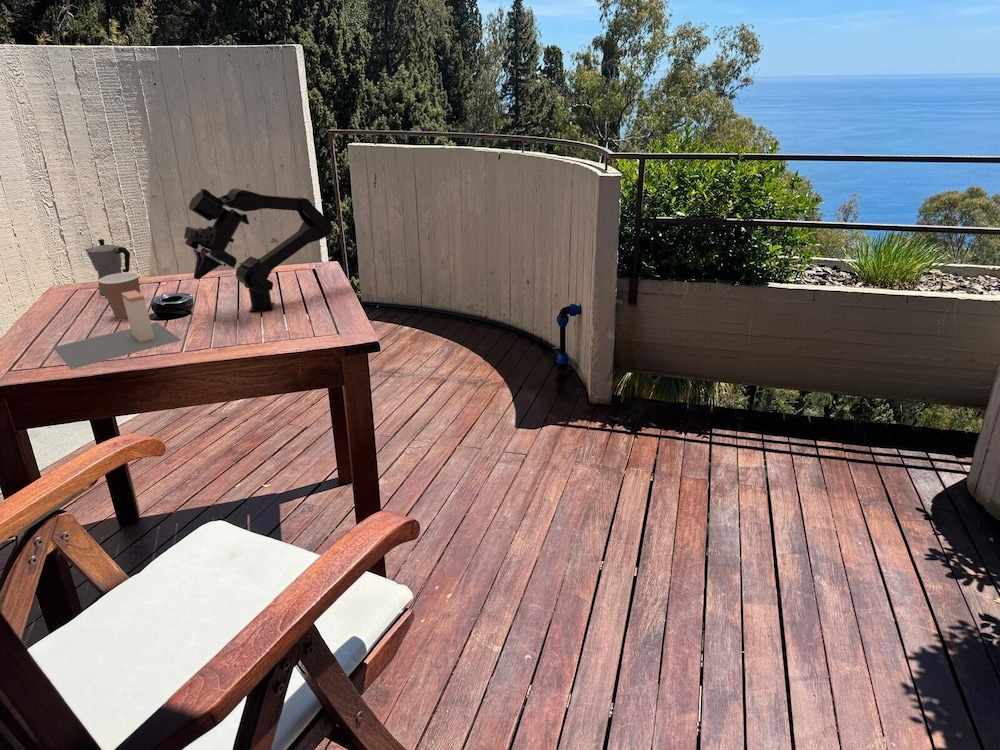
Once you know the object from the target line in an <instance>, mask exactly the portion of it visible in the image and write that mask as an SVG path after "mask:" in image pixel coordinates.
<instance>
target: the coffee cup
mask: <svg viewBox="0 0 1000 750" xmlns="http://www.w3.org/2000/svg"><path fill="white" fill-rule="evenodd" d="M139 276H140V275H139V273H136V272H122V273H118V274H112V275H108V276H105V277H103V278H101V279H99V281H98V283H99V282H100V283H101V285H102V287H103V290H104V292H105V294H106V297H107V298H106V299H107V302H108V304H109V307H110V308H111V311H112V313H113V315H114V317H115V318H116V320H117V319H118V321H123V320H128V316H127V312H126V309H125V305H124V301H123V298H122V294H121V293H124V292H129V291H134V290H136V291H137V292H139V293H140V294H141V287H140V281H139V280H140V279H139Z"/></svg>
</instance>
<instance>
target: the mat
mask: <svg viewBox="0 0 1000 750" xmlns="http://www.w3.org/2000/svg"><path fill="white" fill-rule="evenodd" d="M151 326H152V330H153V334H154V338H155V339H151V340H148V341H144V342H140V341H139V340H138V339H136V338H135V337H134V336H133V334H132V330H131V328H127V329H123V330H120V331H115V332H114V331H113V332H110V333H106V334H102V335H98V336H93V337H90V338H86V339H82V340H77V341H74V342H69V343H65V344H61V345H56V346H52V348H53V350H54V351H55V352H56V353H57V354H58V356H60V358H61V359H62V360H63V361H64V363H65V364H66V365H67V367H69V369H70V370H73V369H77V368H81V367H84V366H88V365H93V364H96V363H100V362H104V361H108V360H111V359H114V358H119V357H122V356H126V355H132V354H135V353H139V352H142V351H145V350H150V349H154V348H157V347H160V346H165V345H169V344H173V343H177V342H180V341H182V339H181V338H179V337H178V336H177V335H176V334H174V333H173V332H171V331H170V330H168V329H167V328H165V326H163V325H162V324H160V323H159V322H158V321H156V322H151Z"/></svg>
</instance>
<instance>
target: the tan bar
mask: <svg viewBox="0 0 1000 750" xmlns="http://www.w3.org/2000/svg"><path fill="white" fill-rule="evenodd" d="M121 294H122V298H123V301H124V305H125V309H126V312H127V316H128V319H127V320H128V323H129V326H130V329H131V330H132V334H133V336H134V337H135V338H136V339H138V340H139V341H140V342H144V341H148V340H151V339H155V338H154V334H153V330H152V326H151V324H152V322H151V320H150V319H151V318H150V315H149V312H148V308H147V305H146V304H147V303H146V301H145V296H144V295H143V293H141V292H140V293H139V292H137V291H136V290H134V291H129V292H124V293H121Z"/></svg>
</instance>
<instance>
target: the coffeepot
mask: <svg viewBox="0 0 1000 750" xmlns="http://www.w3.org/2000/svg"><path fill="white" fill-rule="evenodd" d="M97 241H98V243H99V245H96V246H93V247H88V248H86V249H84V251H85V252H86V253H87V255H88V257H89V260H90V261H91V263H92V266H93V269H94V270H95V272H97V275H98V276H97V277H98V278H97V279H98V290H99V296H100V295H101V296H105V297H106V294H105V292H104V290H103V287H102V285H101V283H100V282H99V279H101V278H103V277H105V276H108V275H112V274H118V273H130V266H131V265H130V260H131V253H130V251H129V250H128V249H127V248H126V247H125V246H120V245H115V244H105V239H101V238H100V239H98V240H97ZM122 254H123V255H124V268H123V269H122V266H123V265H122ZM101 296H100V297H101Z"/></svg>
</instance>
